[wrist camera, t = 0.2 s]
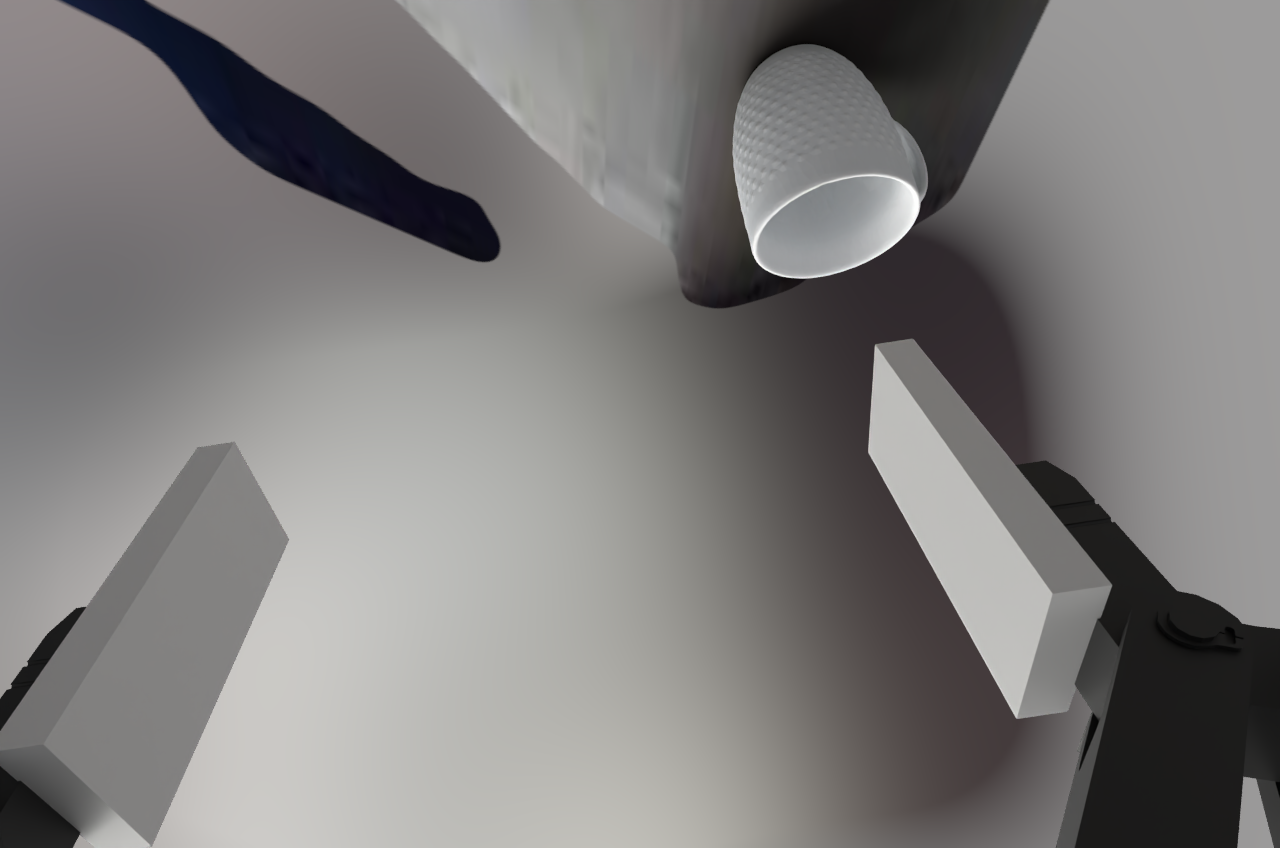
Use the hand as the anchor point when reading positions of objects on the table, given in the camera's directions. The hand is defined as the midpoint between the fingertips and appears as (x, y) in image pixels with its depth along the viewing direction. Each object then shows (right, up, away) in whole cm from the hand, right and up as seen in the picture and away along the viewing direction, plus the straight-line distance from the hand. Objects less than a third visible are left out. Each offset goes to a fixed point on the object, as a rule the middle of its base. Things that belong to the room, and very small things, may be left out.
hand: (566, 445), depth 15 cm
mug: (+13, +25, +38) cm, 47 cm away
